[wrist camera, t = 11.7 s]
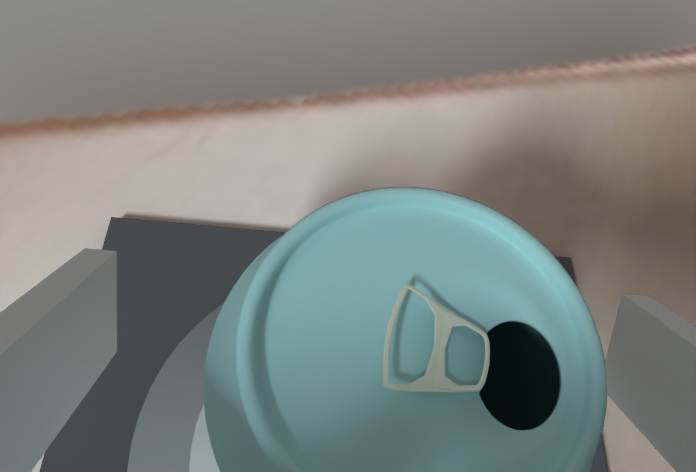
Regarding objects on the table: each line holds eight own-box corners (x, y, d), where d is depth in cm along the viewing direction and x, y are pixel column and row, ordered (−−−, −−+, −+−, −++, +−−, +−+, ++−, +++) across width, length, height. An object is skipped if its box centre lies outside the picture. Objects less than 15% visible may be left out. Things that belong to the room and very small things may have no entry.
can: (392, 325, 22) (502, 114, 11) (485, 516, 19) (749, 471, 8) (210, 397, 20) (135, 221, 9) (283, 623, 17) (294, 739, 6)
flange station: (565, 262, 26) (584, 244, 24) (654, 799, 17) (692, 824, 16) (114, 223, 24) (103, 200, 23) (-44, 791, 16) (-79, 818, 14)
